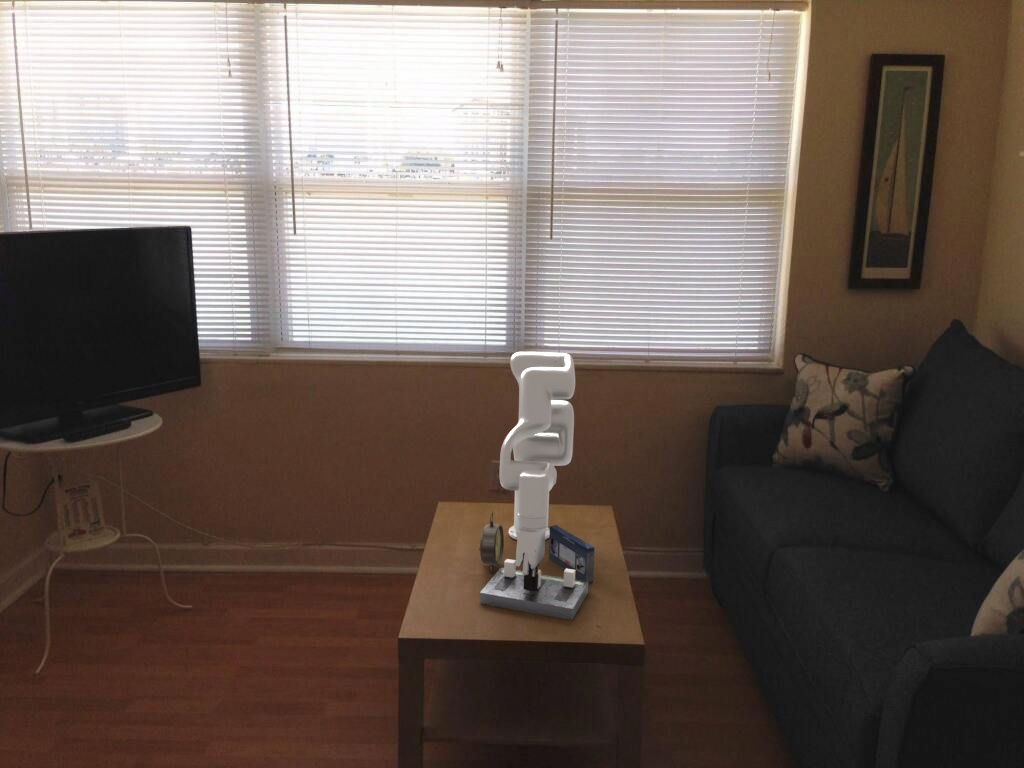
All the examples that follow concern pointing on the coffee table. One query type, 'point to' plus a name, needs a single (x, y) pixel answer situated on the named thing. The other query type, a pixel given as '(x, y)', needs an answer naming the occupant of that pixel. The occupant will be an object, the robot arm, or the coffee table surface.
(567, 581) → the block
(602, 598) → the coffee table surface
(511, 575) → the breaker
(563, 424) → the robot arm
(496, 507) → the coffee table surface
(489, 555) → the dial indicator gauge
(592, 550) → the vhs cassette tape
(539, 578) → the block
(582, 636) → the coffee table surface
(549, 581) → the breaker panel
